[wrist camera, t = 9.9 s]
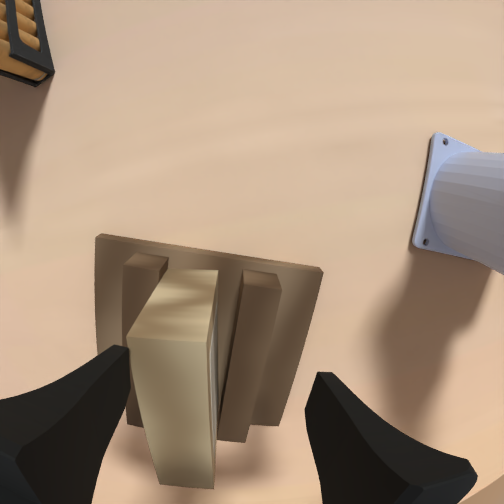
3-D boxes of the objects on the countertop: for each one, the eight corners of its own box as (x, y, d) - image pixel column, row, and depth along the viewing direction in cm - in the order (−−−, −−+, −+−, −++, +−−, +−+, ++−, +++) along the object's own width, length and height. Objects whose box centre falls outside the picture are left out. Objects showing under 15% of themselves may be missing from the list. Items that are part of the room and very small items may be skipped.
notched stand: (319, 267, 20) (335, 287, 17) (277, 417, 23) (282, 449, 20) (101, 233, 19) (77, 247, 15) (106, 390, 22) (92, 418, 19)
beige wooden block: (218, 270, 19) (206, 342, 11) (219, 400, 21) (214, 489, 14) (167, 268, 19) (125, 336, 11) (177, 397, 21) (159, 484, 14)
